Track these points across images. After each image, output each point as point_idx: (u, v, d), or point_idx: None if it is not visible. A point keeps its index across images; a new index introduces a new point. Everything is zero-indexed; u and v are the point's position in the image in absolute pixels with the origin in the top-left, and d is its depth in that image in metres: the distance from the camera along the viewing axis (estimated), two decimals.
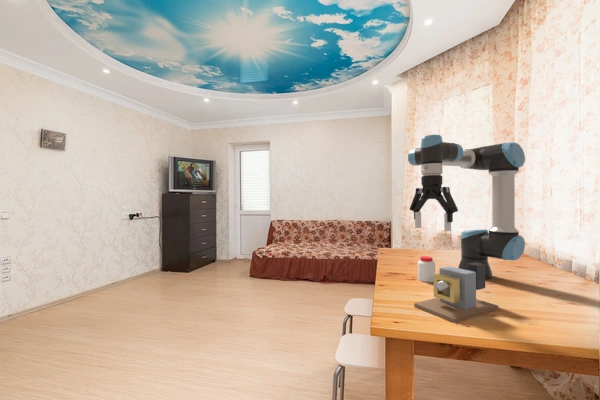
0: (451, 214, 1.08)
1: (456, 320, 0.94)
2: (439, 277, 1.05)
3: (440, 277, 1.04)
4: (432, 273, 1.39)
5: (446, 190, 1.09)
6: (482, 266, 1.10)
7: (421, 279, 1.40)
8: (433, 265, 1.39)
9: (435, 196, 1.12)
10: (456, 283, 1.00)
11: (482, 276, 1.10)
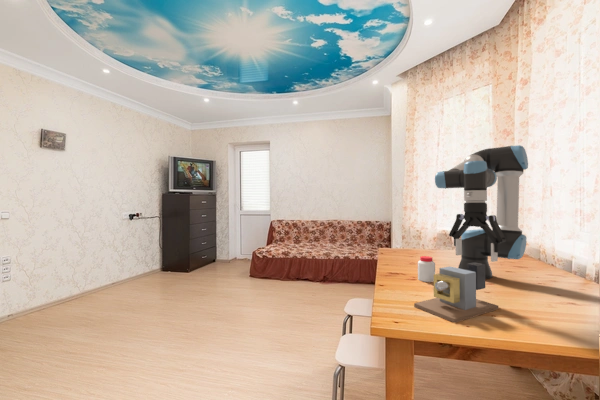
0: (498, 244, 1.04)
1: (456, 320, 0.94)
2: (439, 277, 1.05)
3: (440, 277, 1.04)
4: (432, 273, 1.39)
5: (493, 219, 1.05)
6: (482, 266, 1.10)
7: (421, 279, 1.40)
8: (433, 265, 1.39)
9: (480, 224, 1.08)
10: (456, 283, 1.00)
11: (482, 276, 1.10)
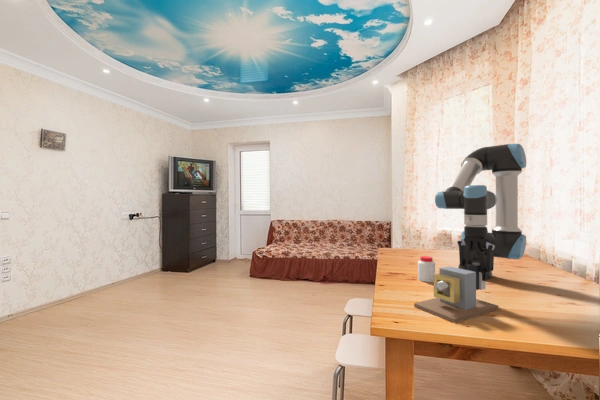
0: (486, 273, 1.08)
1: (456, 320, 0.94)
2: (439, 277, 1.05)
3: (440, 277, 1.04)
4: (432, 274, 1.39)
5: (491, 249, 1.06)
6: None
7: (421, 279, 1.40)
8: (433, 265, 1.39)
9: (477, 250, 1.09)
10: (456, 283, 1.00)
11: None
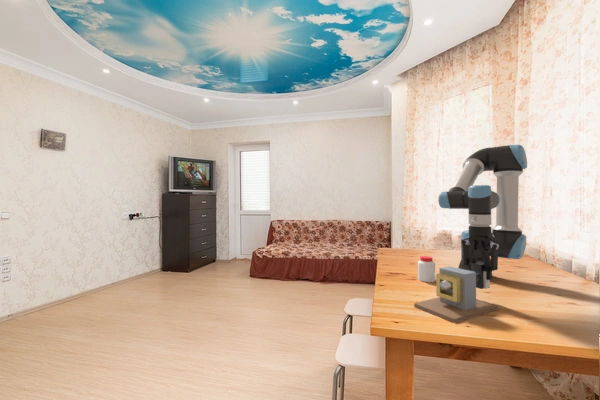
0: (490, 272, 1.09)
1: (456, 320, 0.94)
2: (441, 277, 1.05)
3: (443, 276, 1.05)
4: (432, 273, 1.39)
5: (496, 248, 1.07)
6: None
7: (421, 279, 1.40)
8: (433, 265, 1.39)
9: (482, 249, 1.10)
10: (459, 282, 1.01)
11: None
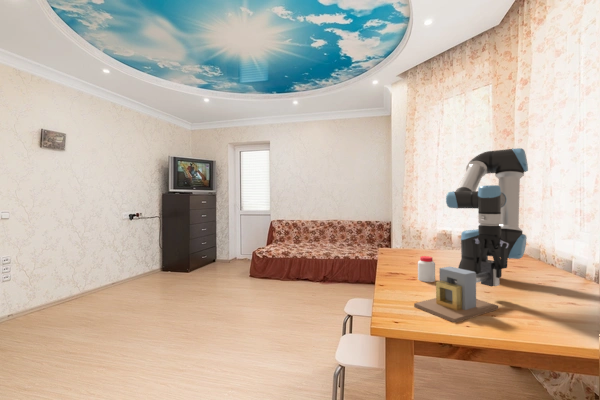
0: (500, 270, 1.12)
1: (456, 320, 0.94)
2: (441, 284, 1.05)
3: (442, 284, 1.05)
4: (432, 273, 1.39)
5: (505, 247, 1.10)
6: None
7: (421, 279, 1.40)
8: (433, 265, 1.39)
9: (492, 248, 1.13)
10: (458, 291, 1.01)
11: None
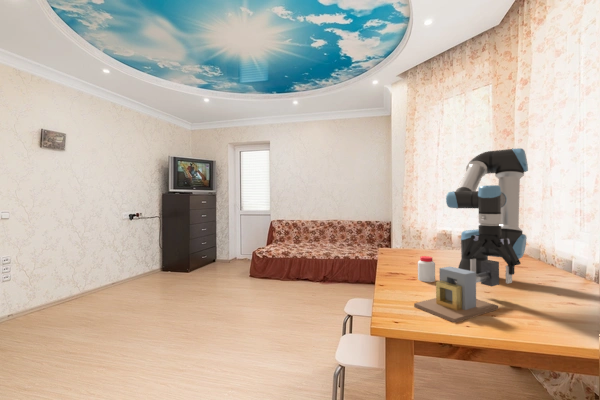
0: (513, 267, 1.08)
1: (456, 320, 0.94)
2: (441, 284, 1.05)
3: (442, 284, 1.05)
4: (432, 273, 1.39)
5: (507, 242, 1.09)
6: (496, 263, 1.14)
7: (421, 279, 1.40)
8: (433, 265, 1.39)
9: (495, 247, 1.12)
10: (458, 291, 1.01)
11: (496, 273, 1.14)
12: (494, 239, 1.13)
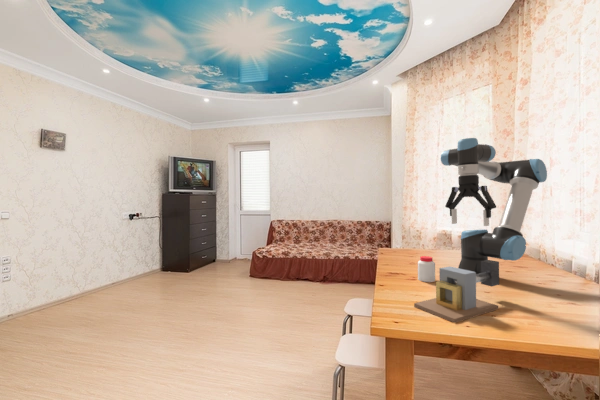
0: (490, 210, 1.19)
1: (456, 320, 0.94)
2: (441, 284, 1.05)
3: (442, 284, 1.05)
4: (432, 273, 1.39)
5: (484, 189, 1.19)
6: (496, 263, 1.14)
7: (421, 279, 1.40)
8: (433, 265, 1.39)
9: (473, 194, 1.22)
10: (458, 291, 1.01)
11: (496, 273, 1.14)
12: (472, 187, 1.23)
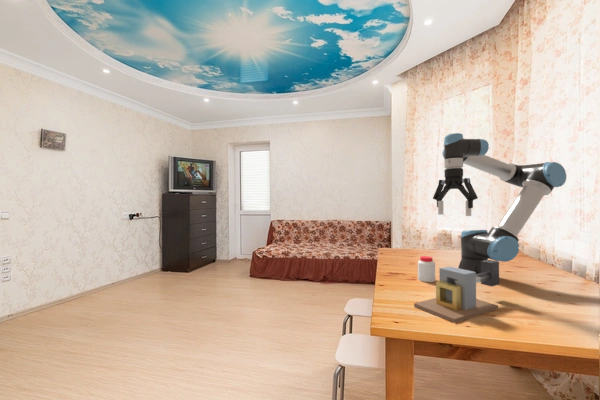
0: (471, 201, 1.26)
1: (456, 320, 0.94)
2: (441, 284, 1.05)
3: (442, 284, 1.05)
4: (432, 273, 1.39)
5: (467, 181, 1.27)
6: (496, 263, 1.14)
7: (421, 279, 1.40)
8: (433, 265, 1.39)
9: (457, 186, 1.30)
10: (458, 291, 1.01)
11: (496, 273, 1.14)
12: (457, 180, 1.31)
